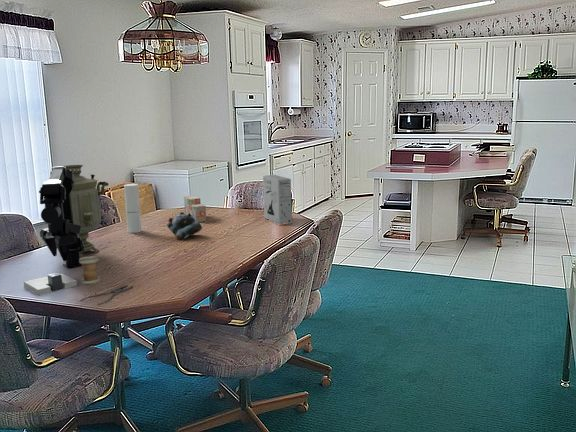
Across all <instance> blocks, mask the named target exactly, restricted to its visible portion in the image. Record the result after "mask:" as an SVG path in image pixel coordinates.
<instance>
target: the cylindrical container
mask: <svg viewBox="0 0 576 432" xmlns="http://www.w3.org/2000/svg"><path fill="white" fill-rule="evenodd" d="M123 190H124V191H123V192H124V200H125V201H124V202H125V214H126V226H127V229H126V230H127V233H129V234H135V233H137V234H138V233H140V232H142V222H141V221H142V220H141V219H142V218H141V207H140V194H139V193H140V192H139V184H138V183H127V184H124V185H123Z"/></svg>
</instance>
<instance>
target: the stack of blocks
mask: <svg viewBox="0 0 576 432" xmlns="http://www.w3.org/2000/svg"><path fill="white" fill-rule="evenodd" d="M183 200H184V203H183V204H184V214H186V215H187V214H188V213H190V214H191V216H192V217H193V218H194V219H195V222H198V223H203V221H205V222H207V213H206V212H207V208H206V207H207V206H206V205H205V204H203V203H201V198H200V197H198V196H195V195H189V196H183Z"/></svg>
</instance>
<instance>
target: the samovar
mask: <svg viewBox="0 0 576 432" xmlns="http://www.w3.org/2000/svg"><path fill="white" fill-rule="evenodd" d="M63 166H64V167H66V169H68V170H70V171H72V172H73V174H74V177H75V183H74V187H73V189H72V191H71V193H70V194H71V203H72V212H73V221H74V224H78V225H81V229H80V233H79V238H80V237H81V240H82V241H83V245H84V251H82V252H79V254H80V255H81V254H82V253H83V252H88V251H91V250H92V251H94V252H96V253H99V252H100V250H99V249H97V248H96V247H95V245H94V244H93V243H91V241H89V240H87V239H88V238H89V237H90V236H89V233H90V232H93V231H94V230H95V229H96V228H97V227H99V225H100V224H101V221H102V217H101V215H102V214H101V208H100V199H99V196H102V195H103V194H104V193H105V187H106V186H107V187H108V186H109V182H107V181H98V179H95V176H96V175H95V174H93V173H92V174H90V178H86V176H84V175H81V174H82V170H81V169H82V167H83V166H84V165H83V164H69V165H63ZM100 186H101V187H100ZM38 193H39V194H40V190H38ZM79 248H80V247H79Z"/></svg>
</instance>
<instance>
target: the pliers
mask: <svg viewBox="0 0 576 432" xmlns="http://www.w3.org/2000/svg"><path fill="white" fill-rule="evenodd" d="M128 285H129V284H126V285H123V286H120V287H118V288H114V289H113V290H111V291H108V292H103V293H99V294H98V293H97V294H93V295H90V296H87V297H85V298H82V299H81V300H80V302H83V301H85V300H87V299H92V298H95V297H101V296H107V295H111V294H112V295H111V296H110V298H108V299H106V300H104V301H102V302H99V303H97V306H100V305H103V304H106V303H108V302H110V301H111V300H113V298H115V296H116V295H119V294H120V293H124V292H127V291H129V290H131V289H133V288H134V286H133V285H131V286H128Z"/></svg>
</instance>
